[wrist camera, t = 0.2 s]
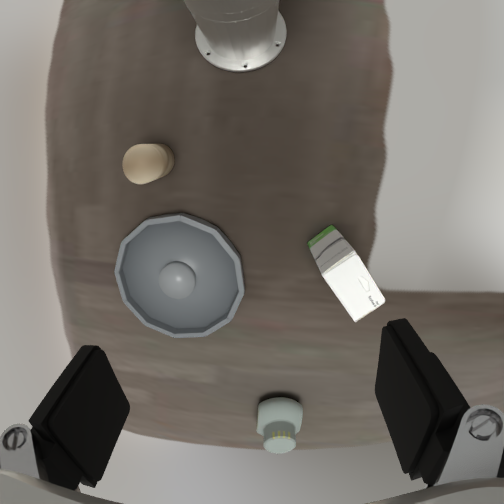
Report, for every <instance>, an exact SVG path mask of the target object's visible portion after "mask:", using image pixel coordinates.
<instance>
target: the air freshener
mask: <svg viewBox="0 0 504 504" xmlns="http://www.w3.org/2000/svg"><path fill="white" fill-rule="evenodd" d="M302 414H303V408H302V405H301V404H300V403H298V402H297V401H295V400H292V399H289V398H284V397H277V398H271V399H267V400H265V401H263V402H261V403H260V404H259V405H258V414H257V432H258V433H259V434H261V435H262V436H264V448H265V449H266V450H268V451H269V452H272V453H286V452H289V451H291V450H292V449H293V448H294V447H295V446H296V436H295V434H296V433H298V432H299V430H300V427H301V423H302Z"/></svg>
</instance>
